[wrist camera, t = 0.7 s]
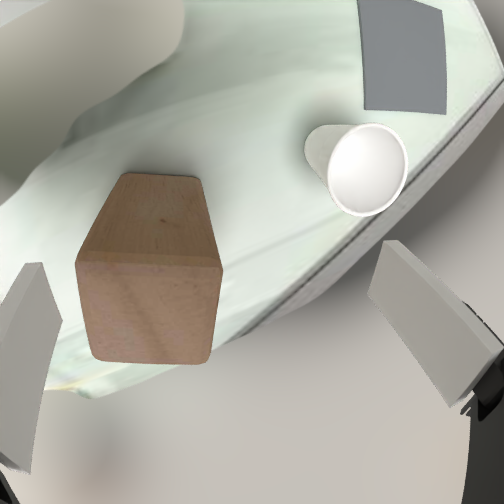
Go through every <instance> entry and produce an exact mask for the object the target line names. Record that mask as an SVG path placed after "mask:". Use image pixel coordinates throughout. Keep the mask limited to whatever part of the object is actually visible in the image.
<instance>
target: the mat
mask: <svg viewBox="0 0 504 504" xmlns="http://www.w3.org/2000/svg"><path fill="white" fill-rule="evenodd" d="M357 5H358V13H359V23H360V33H361V46H362V61H363V81H364V110H385V111H406V112H421V113H433V114H443V115H446V106H447V71H446V49H445V35H444V25H443V16H442V10H439V9H437V8H434V7H431V6H428V5H426V4H423V3H420V2H417V1H414V0H357Z"/></svg>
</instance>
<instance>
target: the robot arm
mask: <svg viewBox="0 0 504 504" xmlns="http://www.w3.org/2000/svg"><path fill="white" fill-rule="evenodd" d="M368 296H369V297H370V298H371V299H372V301H373V302H374V303H375V305H376V306H377V307H378V309H379V310H380V311H381V313H382V314H383V315H384V316H385V318H386V319H387V320H388V322H389V323H390V324H391V326H392V327H393V328H394V330H395V331H396V332H397V334H398V335H399V336H400V338H401V339H402V340H403V342H404V343H405V345H406V346H407V347H408V348H409V350H410V351H411V353H412V354H413V356H414V357H415V358H416V360H417V361H418V363H419V364H420V365H421V367H422V368H423V370H424V371H425V372H426V374H427V375H428V377H429V378H430V379H431V381H432V382H433V384H434V385H435V387H436V388H437V390H438V391H439V393H440V394H441V396H442V397H443V399H444V400H445V402H446V403H447V405H448V406H449V408H451V407H453V406H455V405H456V404H458V403H460V402H461V401H463V400H464V399H465V398H466V397H467V395H468V394H469V393H470V392H471V391H472V390H473V392H474V393H475V394H474V396H473V397H472V398H471V399H470V400H469V401H468V402H467V404H466V405H465V406H464V407H463V408H462V409H461V413H460V414H461V415H462V414H464V413H465V412H466V411H467V409H468V408H469V407H471V409H470V410H469V411H468V412H467V414H466V416H470V417H471V421H470V422H471V423H470V441H469V453H468V465H467V472H466V479H465V486H464V492H463V498H462V503H461V504H504V344H503V342H502V341H501V340H500V339H499V338H498V337H497V335H496V334H495V333H494V332H493V331H492V330H491V329H490V328H489V327H488V325H487V324H486V323H483V320H482V319H481V318H480V317H479V316H477V315H476V313H475V312H474V311H473V310H472V308H471V307H470V306H469V305H468V304H466V303H464V302H463V301H461V300H460V299H459V298H458V297H457V296H456V295H455V294H454V293H453V292H452V291H451V290H450V289H449V288H448V287H447V286H446V285H445V284H444V283H443V282H442V281H441V280H440V279H439V278H438V277H437V276H436V275H435V274H434V273H433V272H432V271H431V270H430V269H429V268H428V267H427V266H425V265H424V264H423V263H422V262H421V261H420V260H419V259H418V258H417V257H416V256H415V255H413V254H412V253H411V252H410V251H409V250H408V249H407V248H406V247H405V246H403V245H402V244H401V243H400V242H399V241H398V240H391V241H384V242H383V245H382V249H381V252H380V256H379V259H378V262H377V266H376V269H375V272H374V275H373V278H372V281H371V285H370V288H369V291H368ZM62 321H63V320H62V318H61V315H60V313H59V310H58V308H57V305H56V302H55V300H54V297H53V294H52V291H51V289H50V286H49V283H48V280H47V277H46V274H45V271H44V267H43V264H42V262H38V263H25V265H24V266H23V268H22V269H21V271H20V273H19V274H18V276H17V278H16V279H15V281H14V283H13V284H12V286H11V288H10V290H9V291H8V293H7V295H6V297H5V299H4V300H3V302H2V304H1V306H0V463H2V464H3V465H4V466H6V467H7V468H8V469H10V470H12V471H16V472H20V473H25V474H29V475H30V472H31V462H32V452H33V445H34V438H35V432H36V426H37V420H38V414H39V409H40V404H41V399H42V394H43V390H44V386H45V381H46V377H47V373H48V369H49V365H50V361H51V358H52V354H53V350H54V347H55V343H56V340H57V337H58V333H59V330H60V327H61V324H62ZM0 504H20V503H19V501H18V500H17V498H16V496H15V494H14V493H13V491H12V489H11V487H10V486H9V484H8V482H7V480H6V478H5V476H4V475H3V473H2V472H1V471H0Z"/></svg>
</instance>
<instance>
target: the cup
mask: <svg viewBox="0 0 504 504" xmlns="http://www.w3.org/2000/svg"><path fill="white" fill-rule="evenodd" d="M304 152H305V157H306V159H307V161H308V163H309V164H310V166H311V167H312V168H313V169H314V171H315V172H316V174H317V175H318V176H319V178H320V179H321V180H322V182H323V183H324V185H325V186H326V187H327V189H328V190H329V193H330V195H331V197H332V199H333V201H334V202H335V203H336V205H337V206H338V207H339V208H340V209H342V210H343V211H344V212H346V213H348V214H350V215H354V216H358V217H362V216H371V215H374V214H377V213H379V212H381V211H383V210H384V209H386V208H387V207H388V206H389V205H390V204H392V203H393V202H394V200H395V199H396V198H397V197H398V195H399V194H400V192H401V190H402V188H403V186H404V183H405V181H406V177H407V172H408V156H407V151H406V148H405V145H404V143H403V141H402V140H401V138H400V137H399V136H398V134H397V133H396V132H395V131H393V130H392V129H391V128H390V127H387V126H385V125H383V124H379V123H364V124H361V125H323V126H320V127H317V128H316V129H314V130H313V131H312V132H311V133H310V134H309V135H308V137H307V139H306V142H305V146H304Z"/></svg>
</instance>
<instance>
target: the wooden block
mask: <svg viewBox="0 0 504 504" xmlns="http://www.w3.org/2000/svg"><path fill="white" fill-rule="evenodd" d="M75 269H76V276H77V283H78V290H79V296H80V302H81V307H82V312H83V318H84V322H85V327H86V332H87V336H88V341H89V345H90V349H91V352H92V355H93V356H94V357H95V358H96V359H98V360H101V361H108V362H123V363H142V364H184V365H186V364H188V365H189V364H190V365H193V364H194V365H197V364H202V363H205V362H206V361H207V360H208V358H209V356H210V353H211V348H212V341H213V334H214V327H215V320H216V314H217V307H218V301H219V294H220V288H221V282H222V275H223V268H222V264H221V260H220V256H219V253H218V249H217V245H216V241H215V237H214V233H213V229H212V225H211V221H210V217H209V213H208V209H207V205H206V200H205V196H204V192H203V188H202V184H201V181H200V180H199V179H197V178H195V177H183V176H170V175H154V174H136V173H126V174H123V175H121V176H120V178H119V179H118V181H117V183H116V184H115V186H114V188H113V189H112V191H111V193H110V194H109V196H108V198H107V200H106V201H105V203H104V205H103V207H102V208H101V210H100V212H99V214H98V216H97V218H96V219H95V221H94V223H93V225H92V227H91V229H90V231H89V233H88V235H87V237H86V238H85V240H84V242H83V244H82V246H81V248H80V250H79V253H78V255H77V258H76V261H75Z"/></svg>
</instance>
